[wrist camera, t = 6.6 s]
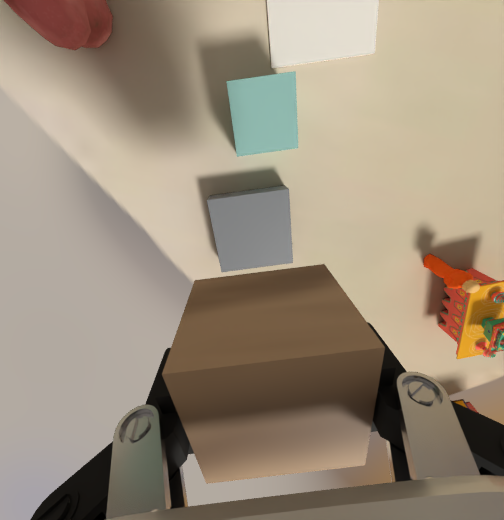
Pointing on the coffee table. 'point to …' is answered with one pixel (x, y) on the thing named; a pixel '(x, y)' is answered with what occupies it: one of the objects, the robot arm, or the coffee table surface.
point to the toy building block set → (471, 311)
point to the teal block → (264, 113)
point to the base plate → (252, 228)
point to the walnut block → (274, 374)
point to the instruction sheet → (320, 30)
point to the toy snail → (67, 21)
